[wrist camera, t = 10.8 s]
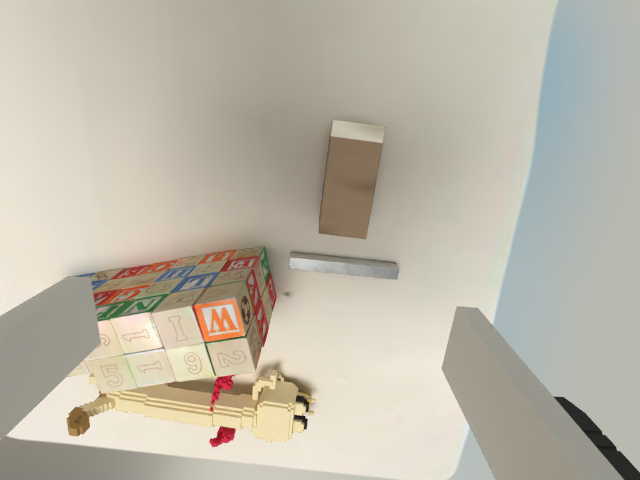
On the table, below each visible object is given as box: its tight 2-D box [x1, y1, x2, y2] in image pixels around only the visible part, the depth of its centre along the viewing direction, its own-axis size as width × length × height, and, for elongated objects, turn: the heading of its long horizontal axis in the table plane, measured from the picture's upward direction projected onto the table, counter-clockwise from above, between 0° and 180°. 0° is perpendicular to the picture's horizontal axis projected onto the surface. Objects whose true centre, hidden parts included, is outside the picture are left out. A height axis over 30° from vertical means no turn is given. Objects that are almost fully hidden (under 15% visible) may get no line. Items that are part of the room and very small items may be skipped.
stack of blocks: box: [67, 246, 276, 394], centre depth 30 cm, size 21×6×12 cm, turn 100°
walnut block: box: [319, 120, 386, 239], centre depth 29 cm, size 6×4×9 cm
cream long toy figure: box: [67, 370, 315, 447], centre depth 36 cm, size 10×9×25 cm
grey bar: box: [289, 252, 399, 280], centre depth 34 cm, size 1×11×2 cm, turn 84°
